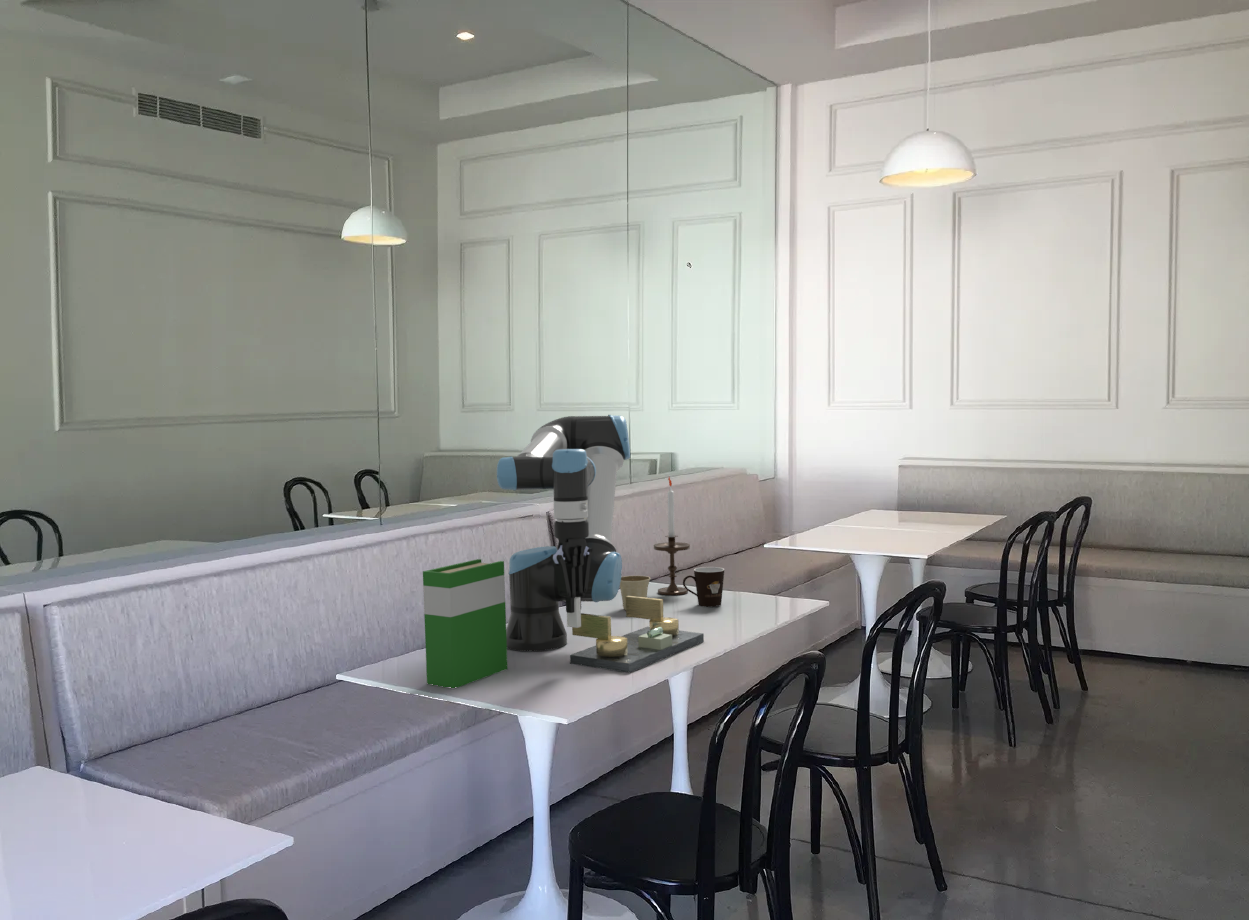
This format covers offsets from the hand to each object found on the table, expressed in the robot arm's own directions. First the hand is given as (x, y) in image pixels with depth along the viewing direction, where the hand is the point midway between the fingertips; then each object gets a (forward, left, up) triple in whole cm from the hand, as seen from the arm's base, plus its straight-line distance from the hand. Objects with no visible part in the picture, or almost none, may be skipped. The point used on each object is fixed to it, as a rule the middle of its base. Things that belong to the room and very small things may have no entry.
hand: (574, 626), depth 232 cm
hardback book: (-23, -1, -9) cm, 25 cm away
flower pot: (+23, +59, -9) cm, 64 cm away
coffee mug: (+43, +59, -9) cm, 74 cm away
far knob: (+21, +20, -7) cm, 30 cm away
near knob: (+6, +4, -7) cm, 10 cm away
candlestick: (+38, +79, -9) cm, 88 cm away
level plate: (+16, +10, -9) cm, 21 cm away
